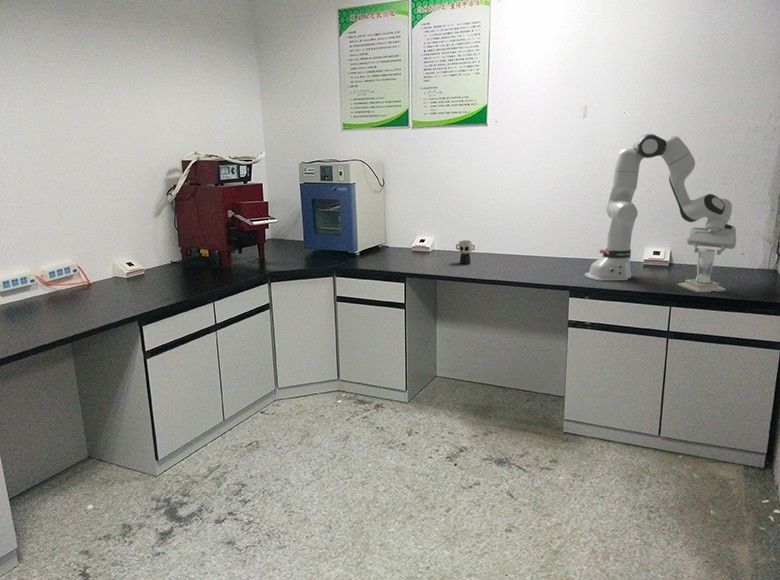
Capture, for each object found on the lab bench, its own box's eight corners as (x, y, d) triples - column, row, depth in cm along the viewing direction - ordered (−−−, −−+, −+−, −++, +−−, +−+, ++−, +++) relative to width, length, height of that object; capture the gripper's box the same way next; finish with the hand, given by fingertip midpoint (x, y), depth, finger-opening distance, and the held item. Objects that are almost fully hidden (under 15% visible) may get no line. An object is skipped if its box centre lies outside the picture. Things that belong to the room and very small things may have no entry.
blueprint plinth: (697, 292, 260) (698, 285, 259) (677, 285, 273) (678, 278, 272) (725, 290, 262) (726, 284, 261) (704, 283, 275) (705, 277, 274)
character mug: (454, 264, 329) (454, 242, 326) (457, 261, 336) (457, 239, 332) (473, 265, 326) (473, 242, 322) (475, 262, 332) (476, 240, 329)
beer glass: (706, 284, 261) (710, 252, 258) (691, 281, 267) (695, 249, 263) (714, 281, 265) (718, 250, 261) (699, 279, 271) (703, 248, 267)
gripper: (690, 223, 275) (682, 246, 270) (738, 227, 261) (730, 251, 257) (691, 231, 279) (683, 254, 275) (739, 235, 266) (731, 259, 261)
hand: (706, 252), depth 266 cm, fingers open, 8 cm apart
